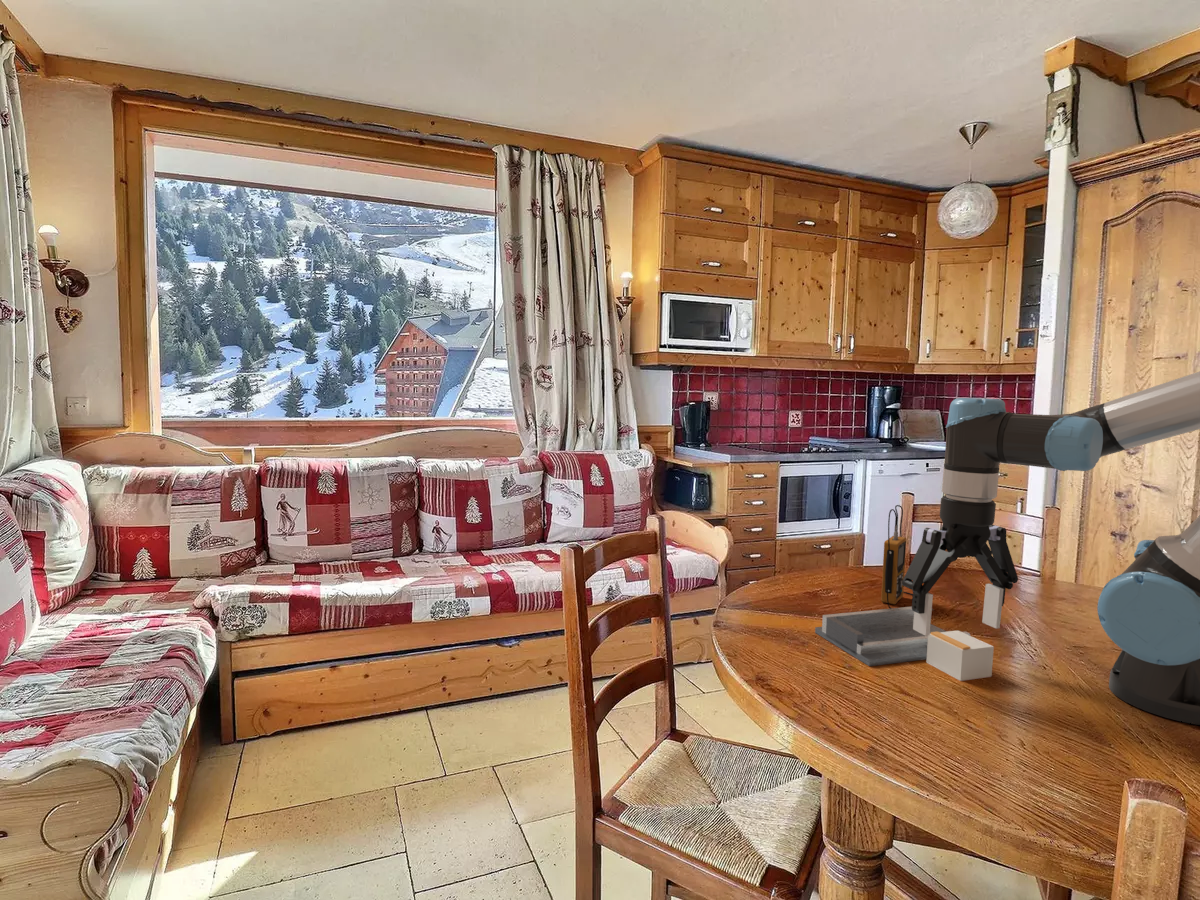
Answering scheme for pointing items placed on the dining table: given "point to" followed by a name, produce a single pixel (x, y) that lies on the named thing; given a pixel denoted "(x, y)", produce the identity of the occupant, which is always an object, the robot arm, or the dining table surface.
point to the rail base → (877, 635)
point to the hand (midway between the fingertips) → (956, 629)
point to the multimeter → (893, 564)
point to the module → (960, 655)
